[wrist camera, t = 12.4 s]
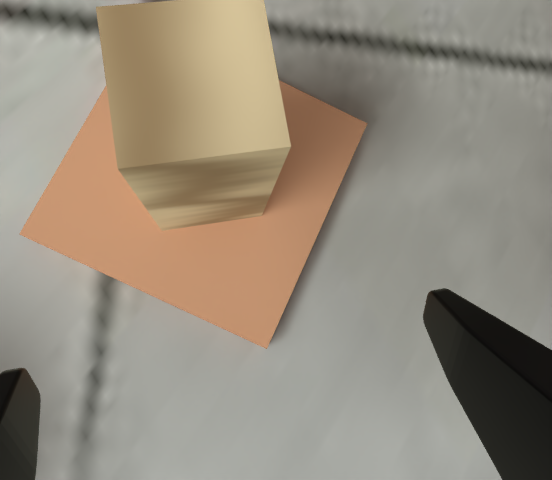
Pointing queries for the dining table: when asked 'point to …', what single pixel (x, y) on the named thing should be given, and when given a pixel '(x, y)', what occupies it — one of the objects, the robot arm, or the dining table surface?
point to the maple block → (194, 107)
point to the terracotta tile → (203, 238)
